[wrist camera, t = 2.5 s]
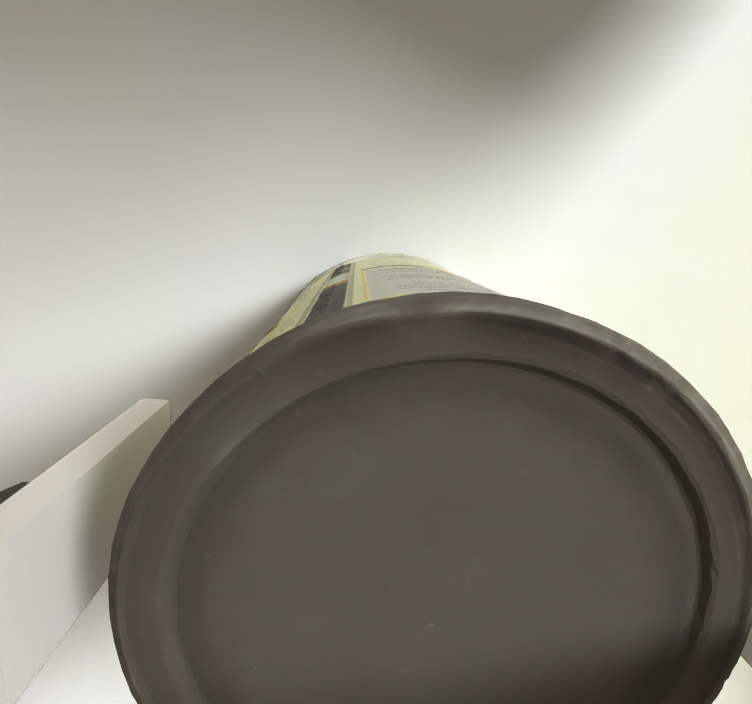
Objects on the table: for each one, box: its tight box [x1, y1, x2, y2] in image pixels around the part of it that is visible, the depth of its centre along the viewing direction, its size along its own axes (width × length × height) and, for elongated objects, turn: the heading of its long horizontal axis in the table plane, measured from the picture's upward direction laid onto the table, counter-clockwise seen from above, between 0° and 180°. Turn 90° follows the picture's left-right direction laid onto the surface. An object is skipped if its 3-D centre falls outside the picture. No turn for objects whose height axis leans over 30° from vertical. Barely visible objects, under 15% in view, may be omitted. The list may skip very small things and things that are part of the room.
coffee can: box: [108, 254, 752, 704], centre depth 14 cm, size 10×10×14 cm
